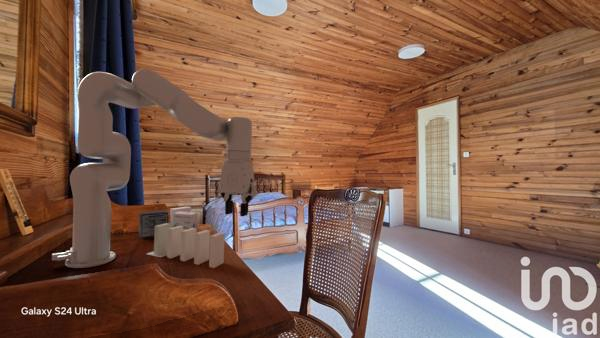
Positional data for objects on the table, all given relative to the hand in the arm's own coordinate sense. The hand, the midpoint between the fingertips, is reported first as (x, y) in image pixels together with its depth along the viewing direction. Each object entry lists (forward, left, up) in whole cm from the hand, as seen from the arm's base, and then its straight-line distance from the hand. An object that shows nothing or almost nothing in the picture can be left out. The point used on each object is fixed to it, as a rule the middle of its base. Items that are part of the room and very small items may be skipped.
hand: (236, 214), depth 82 cm
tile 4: (-11, +23, -17) cm, 30 cm away
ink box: (-2, +38, -18) cm, 42 cm away
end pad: (-13, +28, -17) cm, 36 cm away
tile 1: (-3, +6, -17) cm, 19 cm away
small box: (-9, +54, -18) cm, 57 cm away
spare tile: (-13, +28, -17) cm, 36 cm away
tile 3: (-8, +17, -17) cm, 26 cm away
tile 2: (-6, +12, -17) cm, 22 cm away
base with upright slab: (0, +49, -18) cm, 52 cm away
